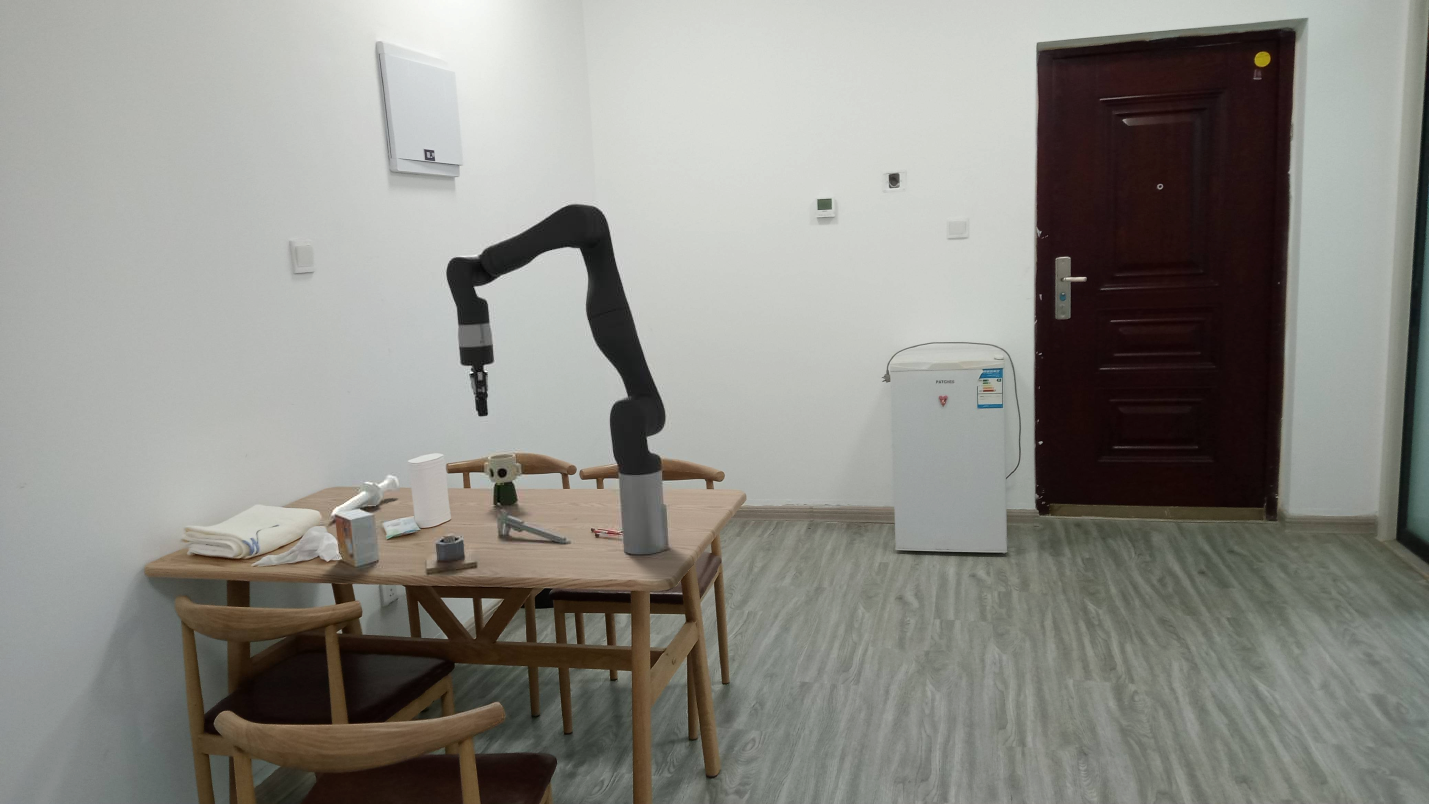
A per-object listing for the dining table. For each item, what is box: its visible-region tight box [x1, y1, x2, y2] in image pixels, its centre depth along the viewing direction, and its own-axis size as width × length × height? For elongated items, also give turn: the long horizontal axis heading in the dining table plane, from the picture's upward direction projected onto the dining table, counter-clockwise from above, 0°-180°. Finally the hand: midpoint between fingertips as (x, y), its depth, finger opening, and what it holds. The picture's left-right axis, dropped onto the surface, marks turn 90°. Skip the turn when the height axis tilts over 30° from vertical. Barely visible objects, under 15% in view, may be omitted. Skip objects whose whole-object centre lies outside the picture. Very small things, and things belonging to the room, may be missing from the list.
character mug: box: [483, 453, 523, 507], centre depth 243 cm, size 11×7×13 cm, turn 70°
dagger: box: [330, 474, 400, 520], centre depth 247 cm, size 8×6×28 cm
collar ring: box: [435, 535, 465, 563], centre depth 198 cm, size 6×6×4 cm
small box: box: [334, 508, 380, 568], centre depth 203 cm, size 8×6×10 cm
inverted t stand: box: [425, 533, 478, 574], centre depth 198 cm, size 10×10×6 cm
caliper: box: [496, 508, 571, 544], centre depth 213 cm, size 20×1×6 cm, turn 61°
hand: (482, 413), depth 217 cm, fingers open, 8 cm apart
